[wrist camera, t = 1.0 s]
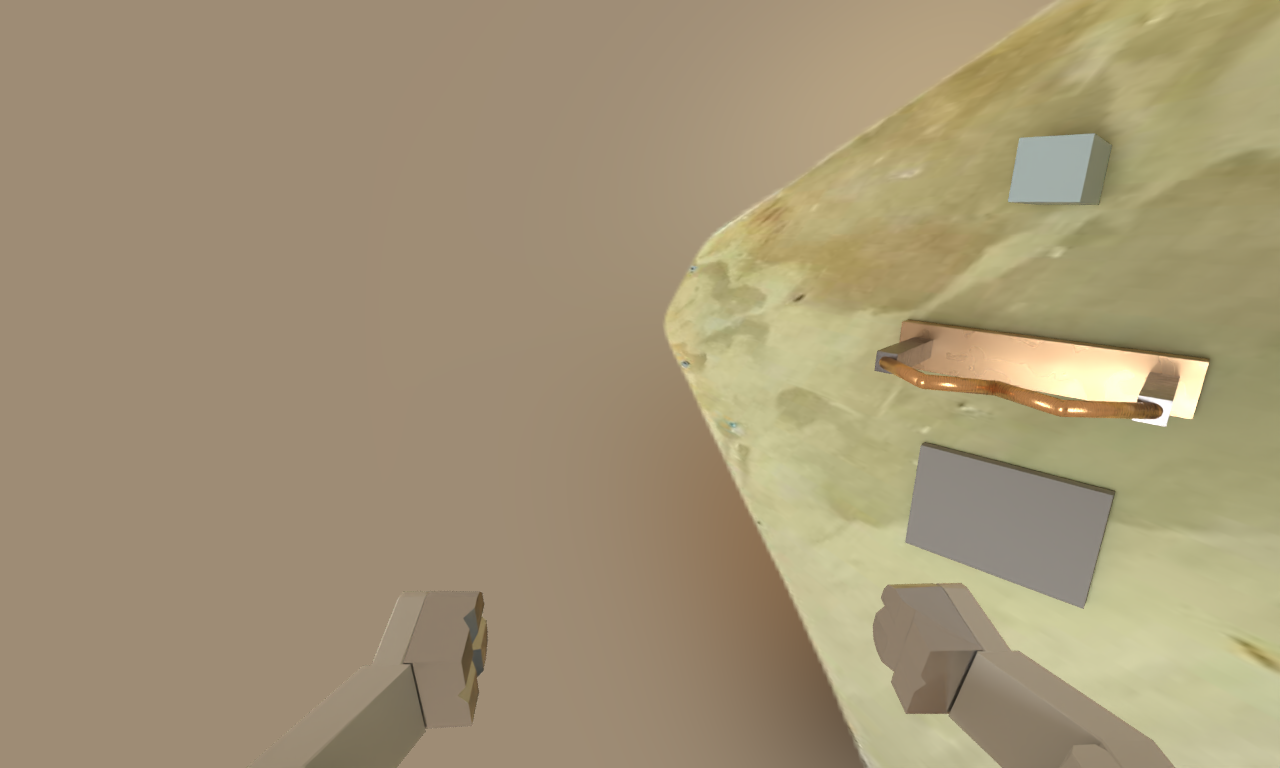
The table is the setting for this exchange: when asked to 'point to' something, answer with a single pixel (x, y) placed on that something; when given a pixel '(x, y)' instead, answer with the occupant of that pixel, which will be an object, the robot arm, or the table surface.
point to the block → (1060, 170)
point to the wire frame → (1048, 372)
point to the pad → (1009, 521)
